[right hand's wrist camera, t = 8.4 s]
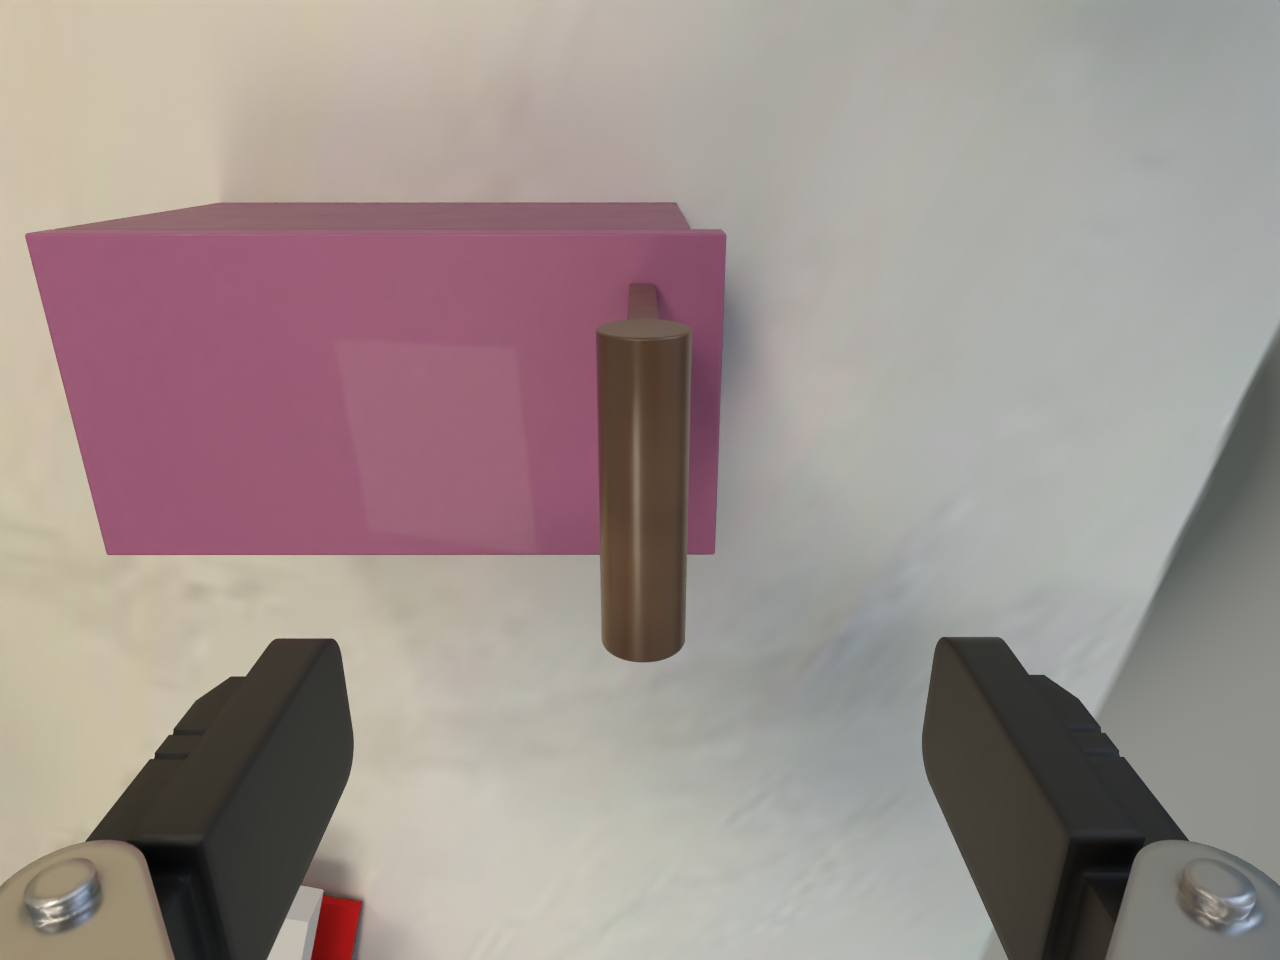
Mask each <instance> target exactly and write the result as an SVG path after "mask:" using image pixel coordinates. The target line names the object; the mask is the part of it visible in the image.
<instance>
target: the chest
mask: <svg viewBox="0 0 1280 960" xmlns="http://www.w3.org/2000/svg"><path fill="white" fill-rule="evenodd" d="M609 229H690V228H689V226H688V224H687V222H686V220H685V219H684V217H683V215H682V213H681V211H680V210H679V208H678V206H677V203H215V204H209V205H203V206H197V207H191V208H184V209H178V210H172V211H165V212H159V213H153V214H147V215H140V216H134V217H128V218H121V219H115V220H109V221H102V222H96V223H90V224H84V225H77V226H71V227H65V228H58V229H55V230H609Z"/></svg>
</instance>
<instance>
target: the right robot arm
mask: <svg viewBox="0 0 1280 960" xmlns="http://www.w3.org/2000/svg"><path fill="white" fill-rule="evenodd" d="M353 749H354V739H353V729H352V723H351V716H350V709H349V703H348V696H347V689H346V683H345V676H344V670H343V663H342V656H341V651H340V648H339V645H338V643H337V642H336V641H335V640H334V639H275V640H273V641H272V642H271V643H270V644H269V645H268V647H267V648H266V650H265V651H264V652H263V654H262V655H261V656H260V658H259V659H258V661H257V662H256V663H255V665H254V666H253V667H252V669H251V670H250V671H249V673H248V674H247V676H246V677H230V678H228V679H227V680H225V681H224V682H222V683H221V684H220V685H218V686H217V687H215V688H214V689H212V690H211V691H209V692H208V693H207V694H205V695H204V696H202V697H201V698H199V699H198V700H196V701H195V703H194V704H193V705H192V706H191V708H190V709H189V710H188V712H187V713H186V714H185V715H184V717H183V718H182V719H181V720H180V722H179V723H178V724H177V726H176V727H175V728H174V733H173V735H169V736H168V737H167V738H166V740H165V741H164V742H163V743H162V745H161V746H160V747H159V748H158V750H157V751H156V752H155V758H154V759H150V760H149V761H148V762H147V764H146V765H145V766H144V767H143V769H142V770H141V771H140V773H139V774H138V775H137V776H136V778H135V779H134V780H133V781H132V783H131V784H130V785H129V787H128V788H127V789H126V790H125V792H124V793H123V794H122V795H121V797H120V798H119V799H118V801H117V802H116V803H115V804H114V806H113V807H112V808H111V809H110V811H109V812H108V813H107V815H106V816H105V817H104V818H103V820H102V821H101V822H100V823H99V825H98V826H97V827H96V829H95V830H94V831H93V832H92V834H91V835H90V836H89V837H88V839H87V840H86V841H85V842H83V843H79V844H75V845H71V846H68V847H65V848H62V849H60V850H57V851H54V852H52V853H50V854H48V855H45V856H43V857H41V858H40V859H38V860H36V861H34V862H32V863H30V864H29V865H27V866H26V867H24V868H23V869H21V870H20V871H18V872H17V873H15V874H14V875H13V876H12V877H10V878H9V879H8V880H7V881H5V882H4V883H3V884H2V885H1V886H0V960H267V958H268V956H269V954H270V952H271V949H272V947H273V945H274V943H275V941H276V938H277V936H278V934H279V932H280V930H281V927H282V925H283V923H284V921H285V919H286V916H287V914H288V912H289V910H290V907H291V905H292V903H293V901H294V899H295V896H296V894H297V892H298V890H299V888H300V885H301V883H302V881H303V879H304V877H305V874H306V872H307V870H308V868H309V866H310V863H311V861H312V859H313V857H314V855H315V852H316V850H317V848H318V846H319V844H320V841H321V839H322V837H323V835H324V832H325V830H326V828H327V826H328V824H329V821H330V819H331V817H332V815H333V813H334V810H335V808H336V806H337V804H338V802H339V799H340V797H341V795H342V793H343V791H344V788H345V786H346V784H347V781H348V778H349V775H350V771H351V766H352V760H353ZM922 751H923V760H924V766H925V770H926V774H927V778H928V780H929V783H930V785H931V787H932V790H933V792H934V794H935V796H936V799H937V801H938V803H939V805H940V808H941V810H942V812H943V814H944V816H945V819H946V821H947V823H948V825H949V828H950V830H951V832H952V834H953V837H954V839H955V841H956V843H957V846H958V848H959V850H960V852H961V854H962V857H963V859H964V861H965V863H966V866H967V868H968V870H969V872H970V875H971V877H972V879H973V881H974V883H975V886H976V888H977V890H978V892H979V895H980V897H981V899H982V901H983V904H984V906H985V908H986V910H987V913H988V915H989V917H990V919H991V921H992V924H993V926H994V928H995V930H996V933H997V935H998V937H999V939H1000V942H1001V944H1002V946H1003V948H1004V950H1005V953H1006V955H1007V957H1008V959H1009V960H1280V886H1279V885H1278V884H1277V883H1276V882H1275V881H1273V880H1272V879H1271V878H1270V877H1268V876H1267V875H1266V874H1265V873H1263V872H1262V871H1260V870H1259V869H1257V868H1256V867H1254V866H1253V865H1251V864H1250V863H1248V862H1246V861H1244V860H1242V859H1240V858H1239V857H1237V856H1234V855H1232V854H1230V853H1228V852H1226V851H1223V850H1220V849H1218V848H1215V847H1212V846H1209V845H1205V844H1201V843H1197V842H1191V841H1189V840H1188V839H1187V837H1186V836H1185V835H1184V834H1183V832H1182V831H1181V830H1180V828H1179V827H1178V826H1177V825H1176V823H1175V822H1174V821H1173V819H1172V818H1171V817H1170V816H1169V814H1168V813H1167V812H1166V810H1165V809H1164V808H1163V807H1162V805H1161V804H1160V803H1159V801H1158V800H1157V799H1156V798H1155V796H1154V795H1153V794H1152V792H1151V791H1150V790H1149V789H1148V787H1147V786H1146V785H1145V783H1144V782H1143V781H1142V780H1141V778H1140V777H1139V776H1138V775H1137V773H1136V772H1135V771H1134V769H1133V768H1132V767H1131V766H1130V764H1129V763H1128V762H1127V760H1126V759H1125V758H1124V757H1120V756H1119V750H1118V749H1117V748H1116V746H1115V745H1114V744H1113V742H1112V741H1111V740H1110V739H1109V737H1108V736H1107V735H1106V733H1101V727H1100V726H1099V724H1098V723H1097V722H1096V721H1095V719H1094V718H1093V717H1092V715H1091V714H1090V713H1089V712H1088V710H1087V709H1086V708H1085V707H1084V705H1083V704H1082V703H1081V701H1080V700H1079V699H1078V698H1076V697H1075V696H1074V695H1072V694H1071V693H1069V692H1068V691H1066V690H1065V689H1063V688H1062V687H1061V686H1059V685H1058V684H1056V683H1055V682H1053V681H1052V680H1051V679H1049V678H1048V677H1046V676H1045V675H1029V674H1028V673H1027V672H1026V670H1025V669H1024V667H1023V666H1022V665H1021V663H1020V662H1019V660H1018V659H1017V658H1016V656H1015V655H1014V654H1013V652H1012V651H1011V649H1010V648H1009V647H1008V645H1007V644H1006V643H1005V641H1004V640H1003V639H1001V638H999V637H942V638H941V639H940V640H939V641H938V643H937V645H936V648H935V652H934V658H933V665H932V672H931V678H930V685H929V692H928V699H927V705H926V712H925V719H924V725H923V733H922Z"/></svg>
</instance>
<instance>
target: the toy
mask: <svg viewBox="0 0 1280 960" xmlns="http://www.w3.org/2000/svg"><path fill="white" fill-rule="evenodd" d="M323 892H324V890H323V889H318V888H313V887H307V886H302V885H300V888H299V890H298V892H297V894H296V896H295V899H294V901H293V903H292V905H291V907H290V910H289V912H288V914H287V916H286V919H285V921H284V923H283V925H282V927H281V930H280V932H279V934H278V936H277V938H276V941H275V943H274V945H273V947H272V949H271V952H270V954H269V956H268V958H267V960H351V958H352V953H353V947H354V942H355V936H356V931H357V926H358V920H359V915H360V909H361V904H362V902H360V901H354V900H348V899H341V898H335V897H329V896H323Z"/></svg>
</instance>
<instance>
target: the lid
mask: <svg viewBox="0 0 1280 960" xmlns="http://www.w3.org/2000/svg"><path fill="white" fill-rule="evenodd" d="M25 237H26V241H27V245H28V249H29V253H30V257H31V261H32V265H33V268H34V272H35V276H36V280H37V284H38V288H39V292H40V296H41V300H42V303H43V307H44V311H45V315H46V319H47V323H48V327H49V331H50V335H51V339H52V342H53V346H54V350H55V354H56V358H57V362H58V366H59V370H60V374H61V377H62V381H63V385H64V389H65V393H66V397H67V401H68V405H69V409H70V412H71V416H72V420H73V424H74V428H75V432H76V436H77V440H78V444H79V447H80V451H81V455H82V459H83V463H84V467H85V471H86V475H87V479H88V482H89V486H90V490H91V494H92V498H93V502H94V506H95V510H96V514H97V518H98V521H99V525H100V529H101V533H102V537H103V541H104V545H105V549H106V553H107V555H600V571H601V622H602V642H603V645H604V647H605V648H606V649H607V651H609V652H610V653H611V654H613V655H614V656H616V657H618V658H621V659H624V660H627V661H633V662H654V661H660V660H663V659H666V658H669V657H671V656H673V655H674V654H676V653H677V652H678V651H680V649H681V648H682V646H683V645H684V642H685V614H686V570H687V554H714V553H715V534H716V506H717V478H718V451H719V423H720V395H721V367H722V339H723V311H724V284H725V256H726V234H725V233H724V232H723V230H721V229H609V230H45V231H39V232H32V233H27V234H25Z"/></svg>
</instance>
